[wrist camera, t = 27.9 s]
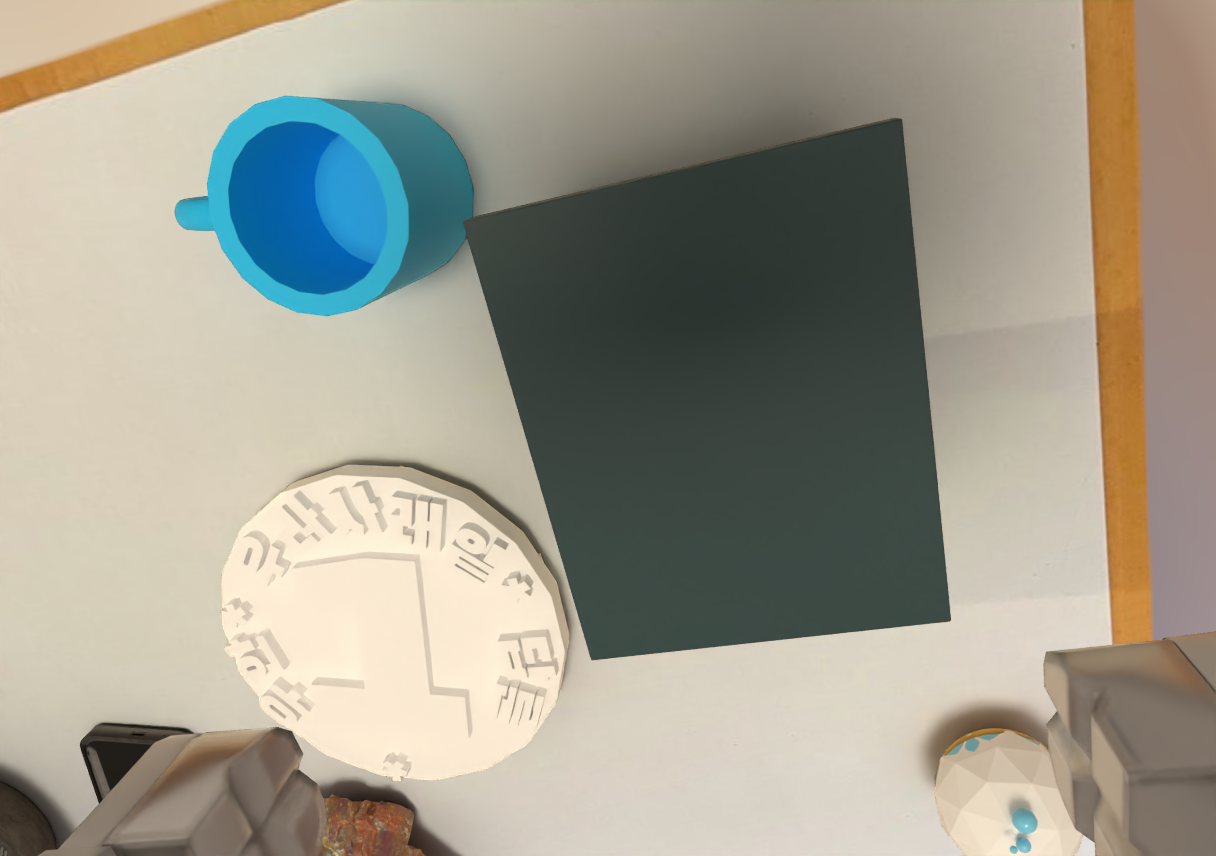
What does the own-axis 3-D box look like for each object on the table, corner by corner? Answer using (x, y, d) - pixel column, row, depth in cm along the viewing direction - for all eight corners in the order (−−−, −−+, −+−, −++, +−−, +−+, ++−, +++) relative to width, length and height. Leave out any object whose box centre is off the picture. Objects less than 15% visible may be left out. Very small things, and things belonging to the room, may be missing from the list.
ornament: (1077, 770, 44) (1147, 901, 37) (954, 816, 46) (997, 947, 39) (1020, 680, 43) (1081, 797, 35) (896, 731, 45) (929, 851, 37)
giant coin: (219, 681, 51) (190, 713, 48) (272, 406, 43) (241, 425, 40) (516, 795, 50) (503, 833, 48) (619, 538, 43) (612, 566, 40)
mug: (461, 95, 36) (390, 86, 29) (483, 276, 39) (424, 312, 31) (219, 115, 38) (92, 113, 31) (257, 287, 41) (149, 323, 33)
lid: (468, 217, 27) (461, 221, 26) (896, 116, 24) (902, 117, 23) (593, 648, 33) (591, 661, 32) (945, 609, 30) (951, 622, 29)
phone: (133, 903, 57) (75, 735, 52) (144, 889, 58) (88, 723, 53) (234, 914, 56) (185, 743, 51) (243, 900, 57) (196, 730, 52)
